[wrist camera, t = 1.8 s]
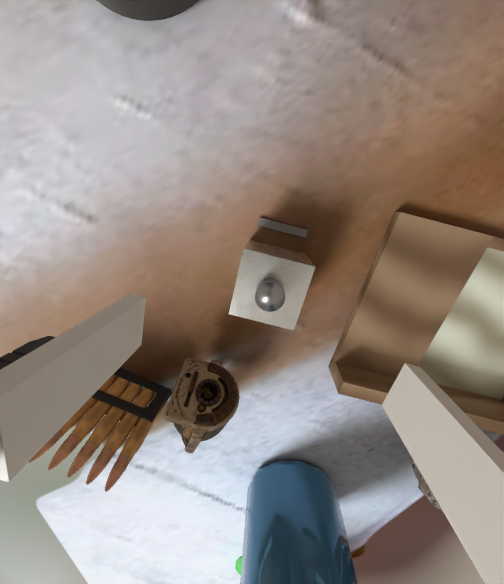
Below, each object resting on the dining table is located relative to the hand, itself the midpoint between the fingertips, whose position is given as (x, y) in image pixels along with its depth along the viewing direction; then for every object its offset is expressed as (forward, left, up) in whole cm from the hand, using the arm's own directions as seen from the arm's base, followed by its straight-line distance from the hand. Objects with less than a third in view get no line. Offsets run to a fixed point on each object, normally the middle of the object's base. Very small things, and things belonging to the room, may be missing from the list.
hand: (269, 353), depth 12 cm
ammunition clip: (+19, -14, -15) cm, 28 cm away
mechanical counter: (+16, -3, -15) cm, 22 cm away
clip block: (0, 0, -15) cm, 15 cm away
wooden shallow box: (0, +20, -15) cm, 25 cm away
